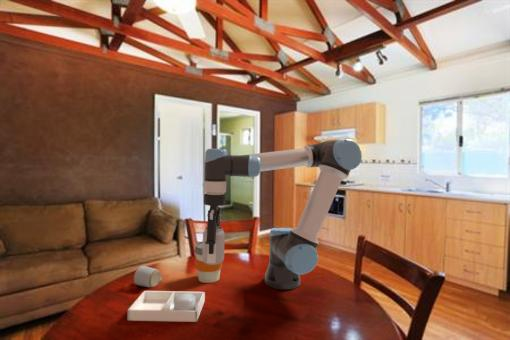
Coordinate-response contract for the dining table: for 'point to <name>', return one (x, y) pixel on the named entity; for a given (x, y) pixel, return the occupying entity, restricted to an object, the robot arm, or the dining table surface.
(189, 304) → the white dome
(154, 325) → the dining table surface
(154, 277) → the ceramic mug
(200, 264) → the reusable coffee cup
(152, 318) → the caddy
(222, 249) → the can
